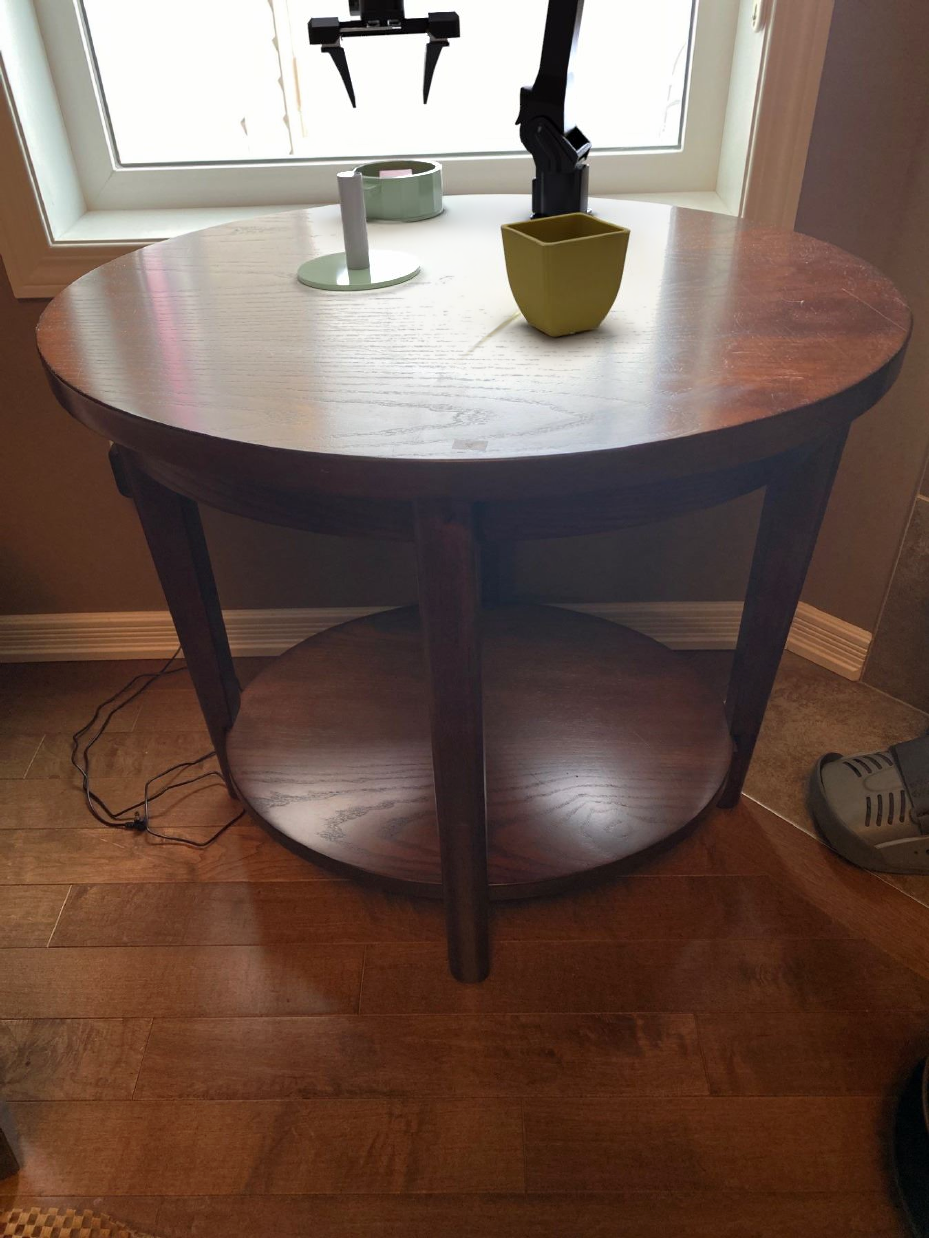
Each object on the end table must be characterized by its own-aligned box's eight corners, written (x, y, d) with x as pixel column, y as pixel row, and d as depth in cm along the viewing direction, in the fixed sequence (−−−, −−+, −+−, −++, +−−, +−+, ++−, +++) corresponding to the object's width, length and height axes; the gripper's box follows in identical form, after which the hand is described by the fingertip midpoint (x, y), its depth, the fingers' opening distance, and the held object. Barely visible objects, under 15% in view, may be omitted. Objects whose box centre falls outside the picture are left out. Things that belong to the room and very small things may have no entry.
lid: (441, 266, 104) (435, 164, 98) (382, 302, 94) (372, 191, 88) (340, 256, 109) (328, 159, 103) (274, 289, 99) (257, 184, 93)
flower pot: (499, 321, 88) (498, 223, 83) (577, 306, 91) (581, 210, 85) (543, 349, 82) (545, 244, 76) (626, 332, 84) (633, 230, 79)
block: (413, 203, 128) (411, 169, 125) (414, 210, 125) (412, 175, 122) (382, 205, 128) (379, 171, 125) (382, 212, 124) (379, 177, 122)
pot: (466, 200, 131) (465, 158, 127) (407, 231, 118) (404, 184, 115) (390, 195, 135) (387, 154, 132) (325, 224, 122) (319, 179, 119)
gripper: (451, -45, 116) (456, 94, 126) (305, -39, 116) (321, 101, 125) (458, -45, 107) (462, 105, 117) (299, -38, 107) (317, 113, 116)
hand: (389, 106), depth 119 cm, fingers open, 9 cm apart
